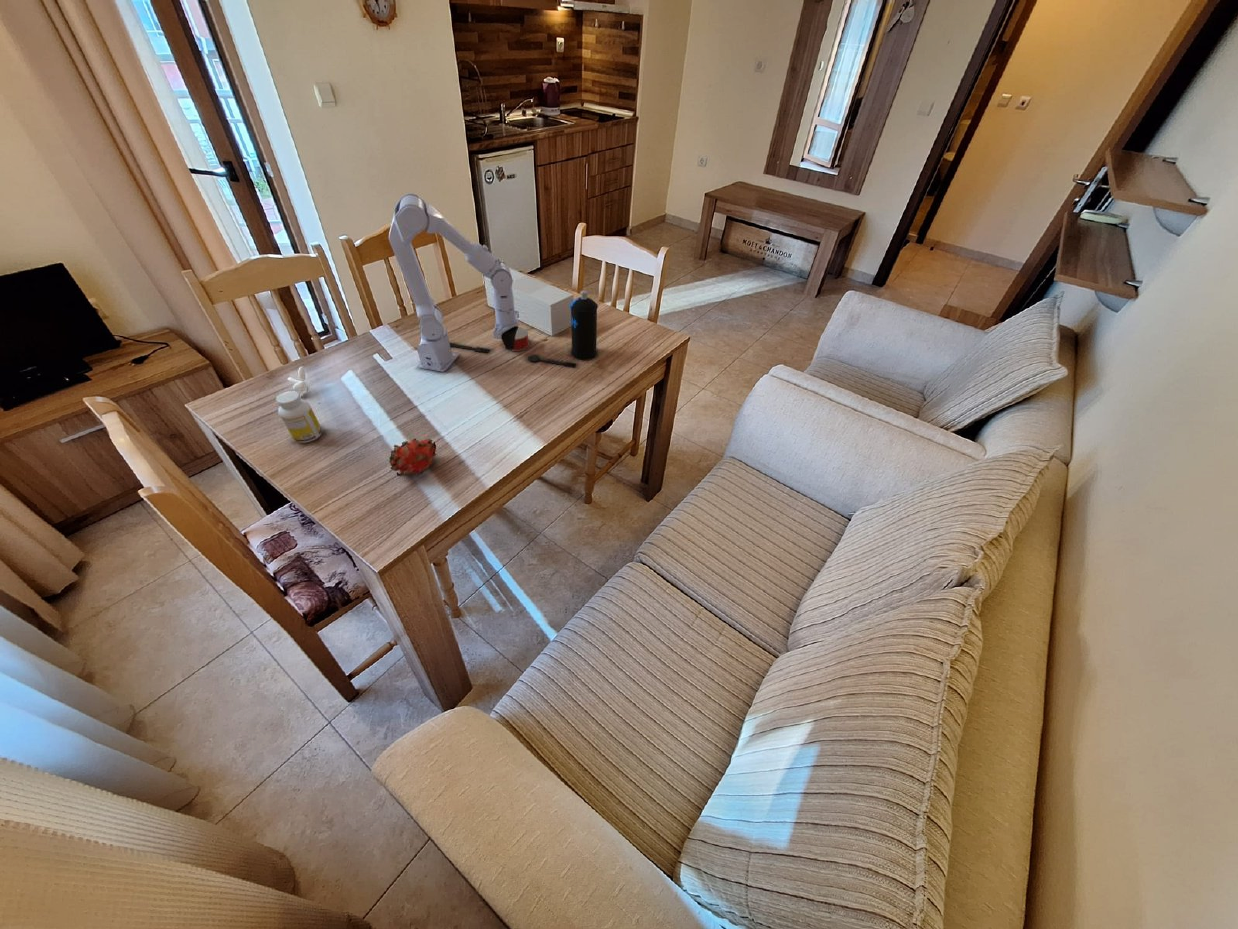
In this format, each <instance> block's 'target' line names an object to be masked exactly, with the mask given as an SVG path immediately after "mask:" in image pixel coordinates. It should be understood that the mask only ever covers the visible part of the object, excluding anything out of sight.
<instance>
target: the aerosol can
mask: <svg viewBox="0 0 1238 929" xmlns="http://www.w3.org/2000/svg"><path fill="white" fill-rule="evenodd" d="M570 308H571V327H570V333H571V335H570V336H571V351H570V354H571V356H572V357H573V358H574V359H577V360H580V361H581V360H582V361H588V360H592V359H595V358H596V357H597V355H598V351H597V335H598V334H597V333H598V331H597V330H598V329H597V328H598V308H599V305H598V303H597V302H596V301H594V299H593V298H591V297H588V291H587V290H584V289H583V290H580V297H576V298H575V299H574V300H573V302H572V303H571V304H570Z"/></svg>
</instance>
